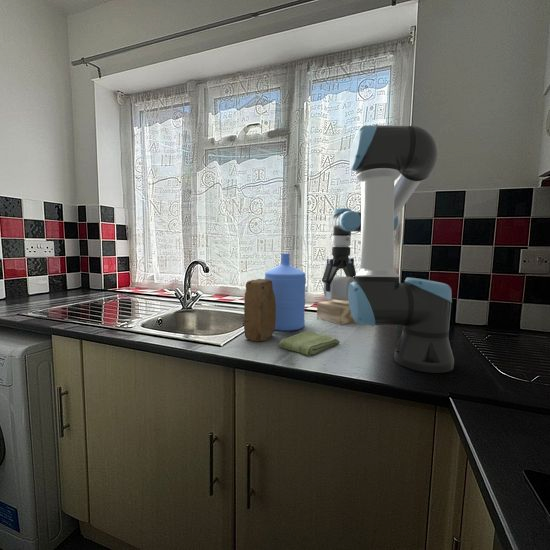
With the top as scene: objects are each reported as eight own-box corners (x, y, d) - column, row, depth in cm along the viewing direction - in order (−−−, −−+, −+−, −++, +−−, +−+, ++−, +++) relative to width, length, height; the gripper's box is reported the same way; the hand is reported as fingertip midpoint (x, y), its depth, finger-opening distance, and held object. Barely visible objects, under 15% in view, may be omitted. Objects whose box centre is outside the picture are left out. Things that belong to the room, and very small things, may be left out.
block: (259, 344, 107) (259, 282, 105) (241, 339, 111) (241, 280, 109) (278, 336, 116) (279, 279, 113) (261, 332, 120) (262, 277, 118)
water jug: (311, 329, 125) (313, 254, 122) (272, 333, 119) (274, 254, 116) (294, 319, 139) (295, 252, 136) (258, 322, 134) (259, 252, 131)
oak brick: (339, 325, 133) (340, 307, 132) (316, 318, 144) (317, 302, 143) (360, 320, 141) (361, 304, 140) (337, 314, 151) (338, 299, 150)
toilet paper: (355, 299, 142) (356, 276, 141) (345, 302, 134) (346, 278, 133) (333, 296, 148) (334, 274, 147) (323, 299, 140) (324, 276, 139)
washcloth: (341, 344, 109) (341, 335, 108) (310, 359, 96) (310, 348, 95) (308, 336, 117) (308, 327, 117) (275, 348, 104) (275, 338, 104)
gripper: (327, 246, 129) (325, 302, 131) (367, 246, 143) (364, 296, 145) (314, 246, 135) (312, 299, 137) (353, 246, 149) (351, 294, 151)
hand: (339, 297), depth 141 cm, fingers closed on toilet paper, 11 cm apart
